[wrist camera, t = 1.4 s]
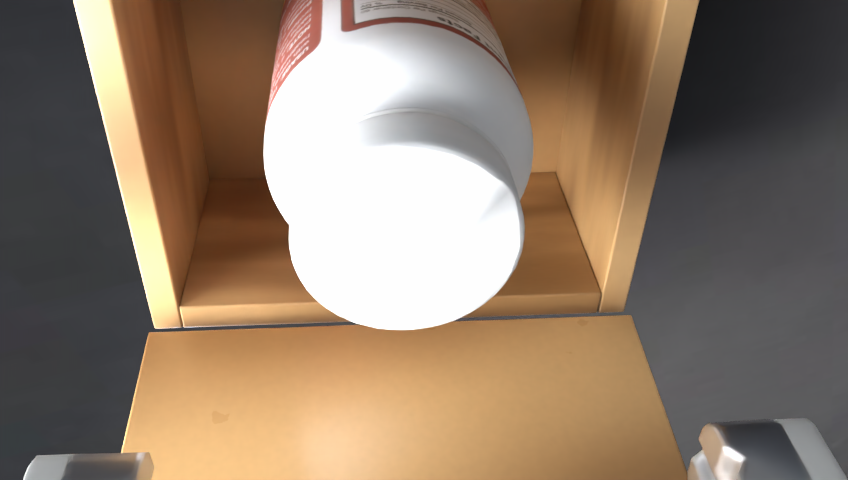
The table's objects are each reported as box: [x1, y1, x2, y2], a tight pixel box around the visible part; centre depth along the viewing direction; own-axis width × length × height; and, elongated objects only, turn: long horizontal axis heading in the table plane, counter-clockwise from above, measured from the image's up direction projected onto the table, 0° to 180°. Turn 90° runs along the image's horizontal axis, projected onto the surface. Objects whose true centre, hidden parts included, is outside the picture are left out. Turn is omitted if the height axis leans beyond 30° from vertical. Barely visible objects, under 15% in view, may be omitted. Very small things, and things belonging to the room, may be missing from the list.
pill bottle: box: [264, 0, 534, 330], centre depth 20 cm, size 6×6×11 cm
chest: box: [73, 0, 699, 329], centre depth 22 cm, size 13×14×7 cm
